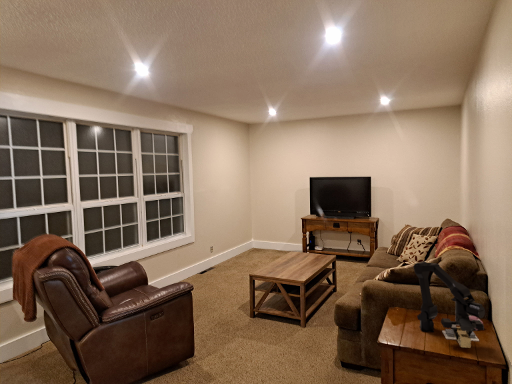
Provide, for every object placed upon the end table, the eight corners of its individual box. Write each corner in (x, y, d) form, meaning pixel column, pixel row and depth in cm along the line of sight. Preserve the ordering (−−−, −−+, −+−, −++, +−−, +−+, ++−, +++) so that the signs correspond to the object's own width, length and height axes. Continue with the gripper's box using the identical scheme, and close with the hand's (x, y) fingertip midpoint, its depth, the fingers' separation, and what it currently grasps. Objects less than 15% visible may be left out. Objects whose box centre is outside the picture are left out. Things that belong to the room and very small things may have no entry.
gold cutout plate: (470, 347, 176) (470, 338, 176) (461, 347, 177) (460, 337, 177) (463, 336, 188) (463, 327, 187) (454, 335, 189) (454, 326, 188)
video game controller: (481, 332, 198) (485, 321, 198) (475, 330, 196) (480, 318, 197) (466, 325, 207) (470, 314, 208) (460, 323, 206) (465, 312, 206)
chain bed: (446, 338, 190) (446, 327, 190) (442, 331, 199) (441, 320, 198) (479, 341, 186) (479, 329, 185) (473, 333, 195) (473, 322, 194)
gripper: (446, 316, 176) (446, 346, 177) (488, 318, 171) (488, 349, 172) (440, 307, 187) (441, 335, 188) (479, 309, 182) (480, 338, 183)
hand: (462, 339), depth 182 cm, fingers closed on gold cutout plate, 4 cm apart
